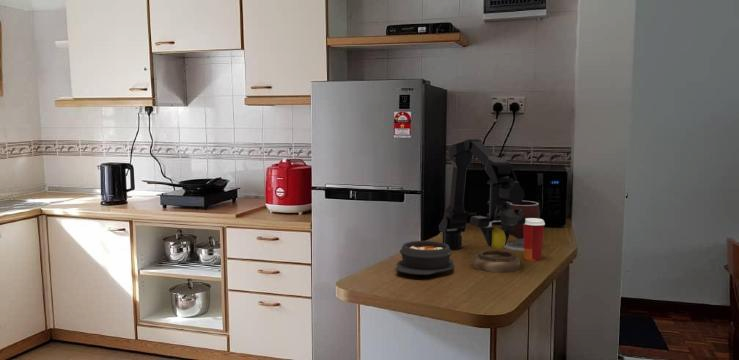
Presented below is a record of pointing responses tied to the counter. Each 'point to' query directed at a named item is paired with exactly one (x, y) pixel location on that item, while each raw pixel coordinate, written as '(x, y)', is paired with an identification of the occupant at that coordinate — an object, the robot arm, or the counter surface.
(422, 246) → the casserole
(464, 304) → the counter surface
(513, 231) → the mate gourd
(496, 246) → the lemon
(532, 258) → the paper cup
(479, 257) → the stand
